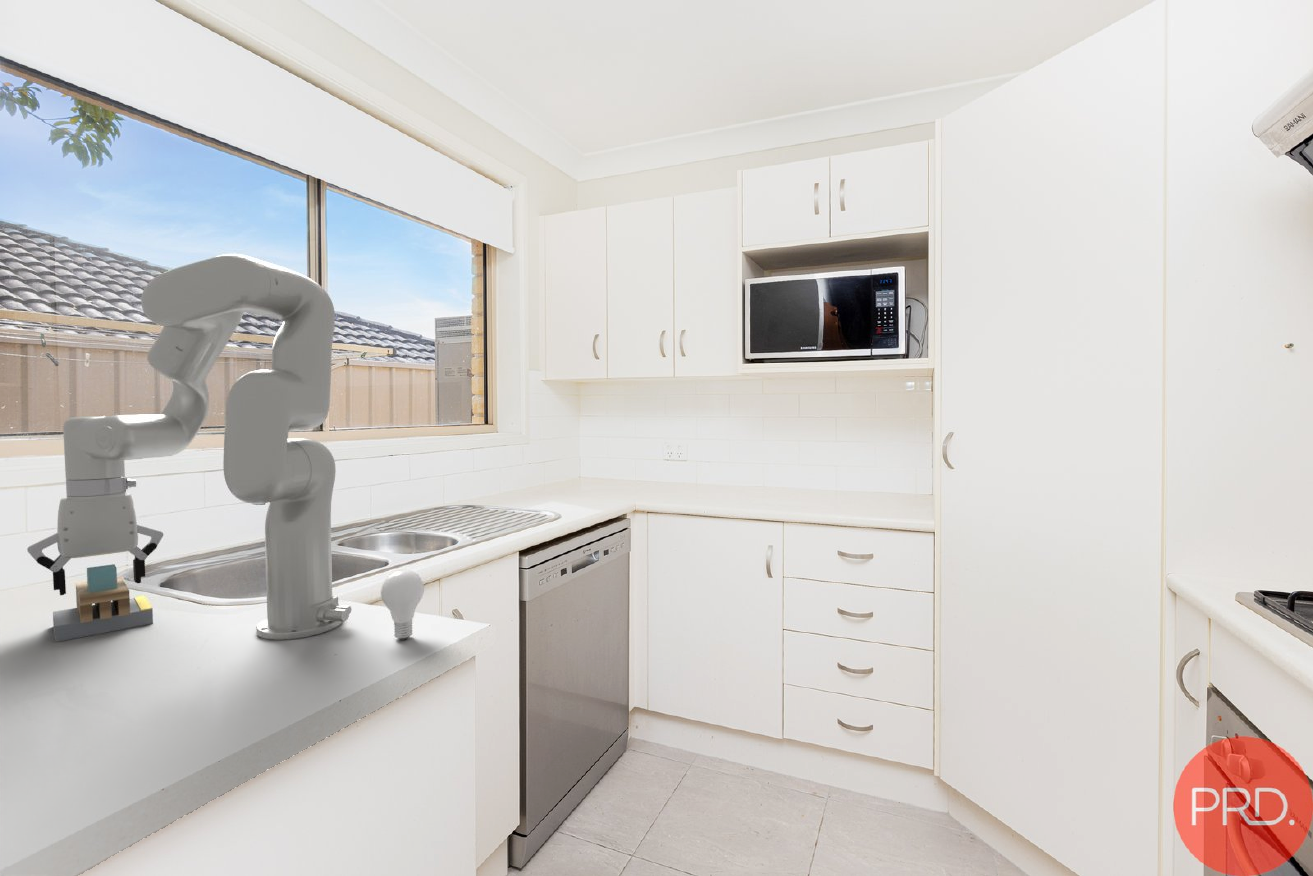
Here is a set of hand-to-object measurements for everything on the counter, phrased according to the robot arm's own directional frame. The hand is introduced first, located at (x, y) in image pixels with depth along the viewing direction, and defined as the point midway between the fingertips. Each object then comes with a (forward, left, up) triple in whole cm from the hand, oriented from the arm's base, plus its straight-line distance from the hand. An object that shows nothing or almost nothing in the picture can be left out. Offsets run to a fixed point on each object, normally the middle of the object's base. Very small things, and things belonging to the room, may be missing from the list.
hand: (101, 587), depth 107 cm
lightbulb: (-56, -1, -6) cm, 56 cm away
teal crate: (-3, +2, +1) cm, 4 cm away
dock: (-2, +2, -6) cm, 6 cm away
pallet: (-2, +2, -3) cm, 4 cm away
